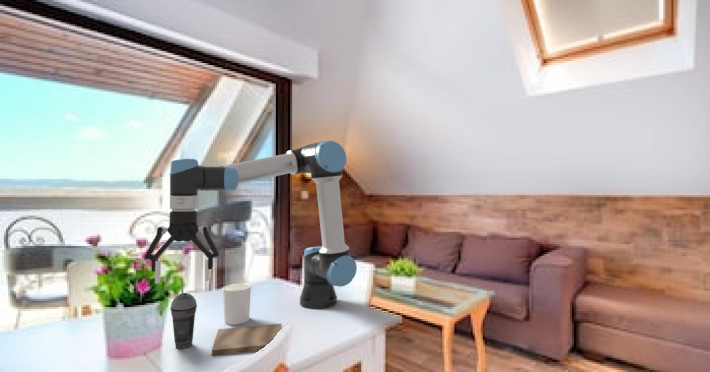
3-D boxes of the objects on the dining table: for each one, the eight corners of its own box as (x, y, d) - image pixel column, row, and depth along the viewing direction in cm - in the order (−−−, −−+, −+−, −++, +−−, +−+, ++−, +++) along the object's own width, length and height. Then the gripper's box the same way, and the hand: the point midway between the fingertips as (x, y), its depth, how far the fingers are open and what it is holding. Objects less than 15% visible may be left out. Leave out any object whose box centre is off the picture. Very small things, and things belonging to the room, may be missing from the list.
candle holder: (242, 326, 125) (242, 291, 125) (216, 324, 127) (216, 289, 127) (256, 316, 135) (256, 284, 135) (231, 315, 137) (231, 282, 137)
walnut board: (281, 328, 124) (281, 323, 124) (283, 348, 109) (283, 343, 109) (218, 333, 119) (218, 329, 119) (211, 355, 104) (211, 350, 104)
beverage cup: (179, 353, 105) (179, 283, 105) (164, 347, 109) (165, 279, 109) (202, 344, 112) (202, 277, 112) (187, 338, 115) (187, 274, 115)
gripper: (132, 211, 104) (131, 286, 104) (226, 210, 110) (225, 282, 110) (141, 209, 111) (140, 280, 111) (228, 209, 117) (227, 276, 117)
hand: (182, 281), depth 110 cm, fingers open, 13 cm apart
